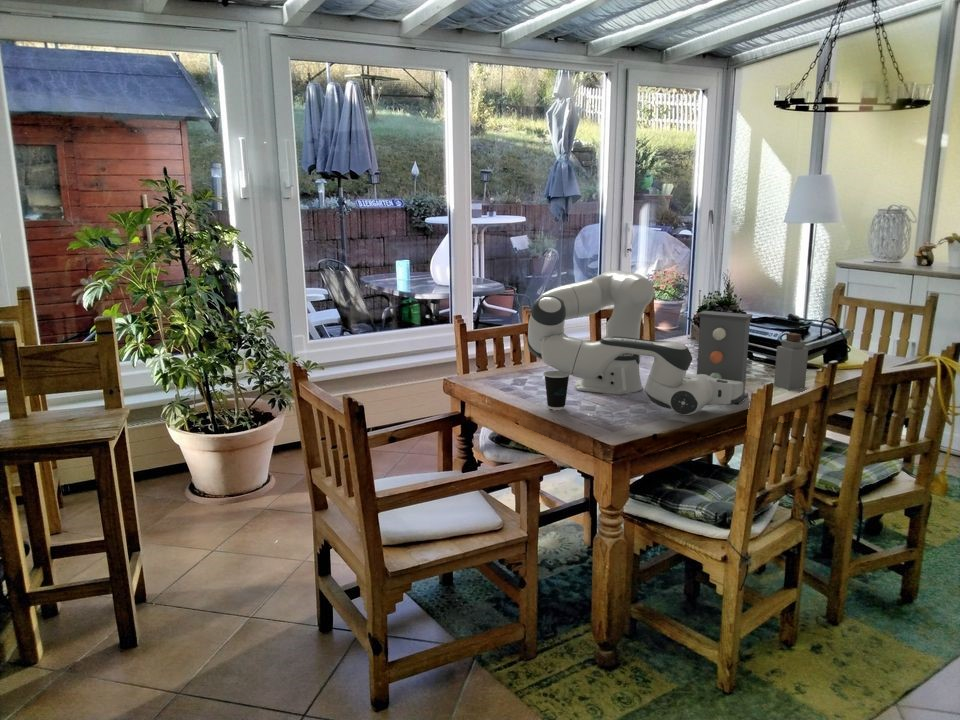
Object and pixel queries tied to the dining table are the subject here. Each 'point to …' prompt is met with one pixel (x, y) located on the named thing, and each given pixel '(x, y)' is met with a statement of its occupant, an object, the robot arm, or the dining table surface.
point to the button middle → (716, 356)
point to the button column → (724, 346)
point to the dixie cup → (556, 389)
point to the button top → (719, 333)
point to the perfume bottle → (791, 363)
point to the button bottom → (716, 375)
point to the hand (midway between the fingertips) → (714, 379)
